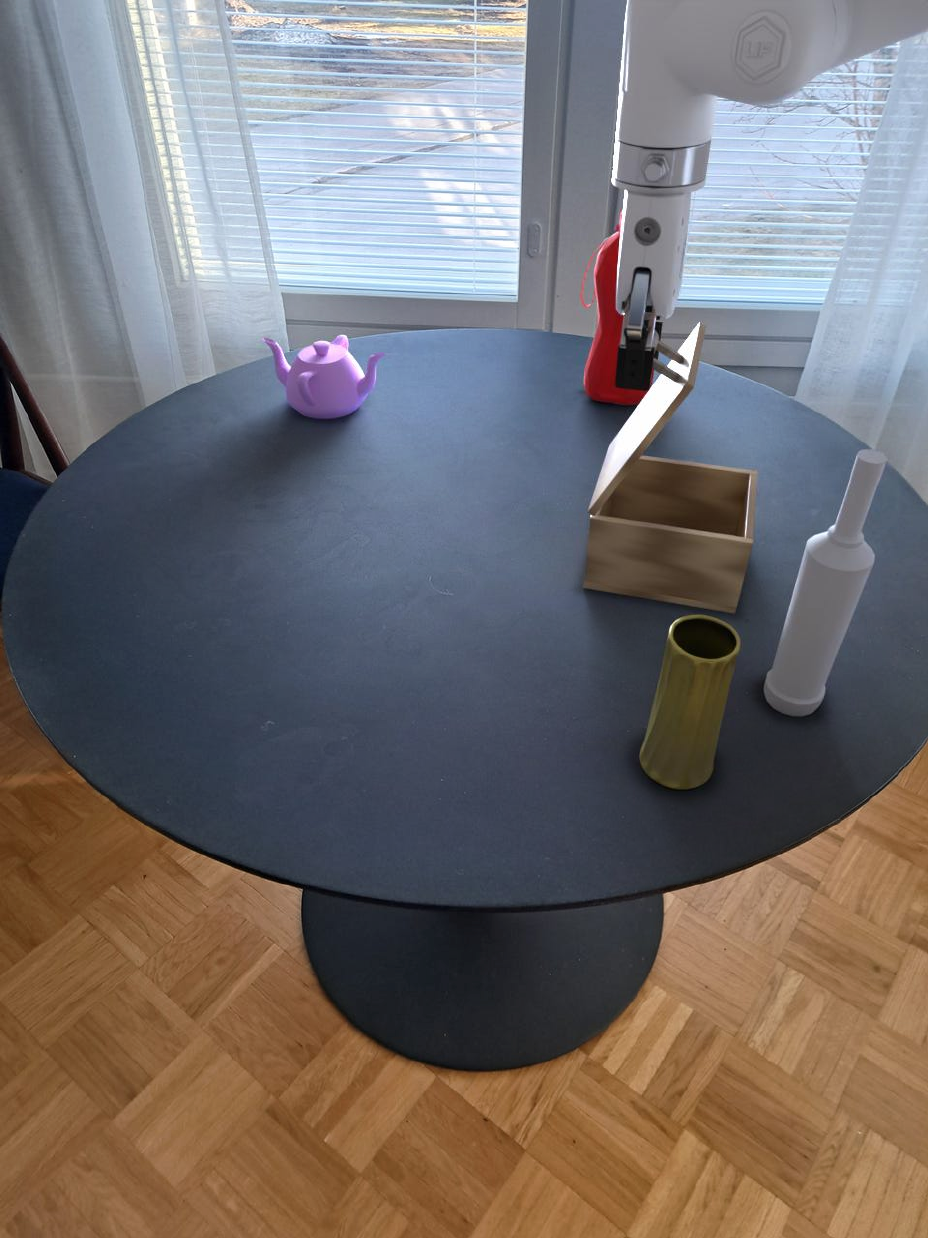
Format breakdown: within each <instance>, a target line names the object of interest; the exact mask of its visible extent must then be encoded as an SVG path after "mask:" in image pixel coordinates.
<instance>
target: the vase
mask: <svg viewBox="0 0 928 1238" xmlns="http://www.w3.org/2000/svg"><path fill="white" fill-rule="evenodd" d="M740 648H741V638H740V637H739V634H738V632H737V631H736V629H734V627H733V626H731V624H729V623H727V622H726V621H723V620H722V619H719V618H717V617H714V616H709V615H705V614H692V615H685V616H682V617H680V618H678V619H676V620H675V621H674V622H673V623H672V624H671V625H670V627H669V630H668V635H667V639H666V644H665V650H664V655H663V659H662V665H661V669H660V674H659V678H658V682H657V686H656V691H655V695H654V698H653V703H652V707H651V711H650V713H649V719H648V723H647V727H646V732H645V735H644V740H643V742H642V745H641V747H640V751H639V762H640V765H641V768H642V770H643V772H645V774H646V775H647V776H648V777H649V778H651V780H654V782H656V783H658V784H660V786H663V787H666V788H669V789H673V790H682V791H683V790H690V789H691V790H692V789H696V788H698V787H700V786H702V785H703V784H705V783H706V782H707V781H708V780H709V779H710V777H711V776H712V773H713V771H714V763H715V761H714V760H715V756H716V752H717V747H718V742H719V737H720V733H721V726H722V721H723V717H724V713H725V709H726V704H727V700H728V695H729V691H730V687H731V683H732V678H733V675H734V670H735V666H736V662H737V659H738V656H739V652H740Z"/></svg>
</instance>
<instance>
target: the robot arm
mask: <svg viewBox="0 0 928 1238" xmlns="http://www.w3.org/2000/svg"><path fill="white" fill-rule="evenodd" d="M626 2H627V3H626V9H625V17H624V18H625V19H624V30H623V31H624V33H623V42H622V43H623V45H622V54H621V55H622V57H621V59H622V60H621V67H620V82H619V93H618V94H619V95H618V108H617V119H616V131H615V143H614V155H613V167H612V168H613V170H612V178H611V183H612V185H613V186H614V187H615V188H618V189H620V190H622V191H624V198H623V208H622V210H623V217H622V227H621V238H620V249H619V261H618V274H617V291H616V310H617V311H618V312H619V313H620V314H621V315H623V313H624V318H623V326H622V333H621V341H620V344H619V346H618V355H617V366H616V376H615V386H616V387H617V388H622V389H631V390H641V391H647V390H649V388H650V385H651V377H652V369H653V361H654V358H655V359H657V360H658V361H659V357H660V356H659V355H660V352H659V351H657V350H656V351H655V347H652V343H653V336H654V330H655V331H657V333H658V335H659V341H661V340H662V331H663V324H664V322H663V321H661V320H662V316H663V319H665V320H667V319H669V318H670V317H671V316H673V314H674V311H675V309H676V305H677V302H678V299H679V296H680V291H681V287H682V279H683V272H684V270H683V269H684V263H685V254H686V253H685V252H686V246H687V239H688V233H689V231H688V230H689V224H690V216H691V215H690V214H691V206H692V205H691V204H692V193H693V192H696V191H699V190H701V189H703V188H704V187H705V185H706V181H707V179H706V178H707V174H708V173H707V172H708V166H709V158H710V153H711V152H710V150H711V145H712V138H713V132H714V124H715V117H716V112H717V111H716V110H717V105H718V98H722V99H724V100H728V101H732V102H737V103H741V104H746V105H752V106H769V105H770V106H771V105H774V104H778V103H781V102H783V101H785V100H788V99H789V98H791V97H793V96H794V95H796V94H797V93H798V92H800V91H801V90H802V89H803V88H804V87H806V86H808V84H809V83H810V82H812V81H813V80H814V79H815V78H816V77H818V76H819V75H821V74H822V75H823V74H824V73H826V72H828V71H831V70H833V69H835V68H837V67H840V66H843V65H845V64H847V63H850V62H853V61H854V60H857V59H859V58H862V57H865V56H867V55H870V54H871V53H872V54H873V53H874V52H877V51H879V50H882V49H884V48H887V47H889V46H891V45H894V44H897V43H900V42H902V41H906V40H908V39H911V38H913V37H915V36H919V35H921V34H924V33H927V32H928V0H627V1H626ZM647 329H648V330H647ZM654 353H655V354H654ZM651 386H652V385H651ZM650 389H651V388H650ZM649 391H650V390H649Z"/></svg>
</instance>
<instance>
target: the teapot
mask: <svg viewBox="0 0 928 1238" xmlns="http://www.w3.org/2000/svg"><path fill="white" fill-rule="evenodd" d="M262 340H263V341H264V342H265V343H266V345H267V346H268V347H269V348H270V350H271V353H272V356H273V362H274V370H275V375H276V377H277V379H278V381H279V382H280V384H281V385H282V386H283V387H284V388H285V398H286V401H287V403H288V404H289V405H290V406H291V407H292V408H293V409H294V410H295V411H297V412H298V413H299V414H301V415H302V416H304V417H307V418H312V419H319V420H321V419H322V420H326V419H327V420H329V419H330V420H331V419H337V418H342V417H345V416H348V415H350V414H352V413H354V412H355V411H357V410H358V409H359V408H360V407H361V405H362V404H363V403H364V401H365V400H366V399H367V396H368V395H369V394H370V393H371V392H373V389H374V387H375V385H376V380H377V365H378V362H379V361H380V359H381V358H382V357H384V356H386V354H387V353H386V352H377V353H374V354H372V355H370V356H369V358H368V360H367V364H366V372H365V374H364V371H363V370H362V368H361V367H360V365H359V363H358V362H357V360H356V359H355V358H354V357H353V355H352V354H351V353H350V352H349V340H348V337H347V335H345V334H340V335H338V336H337V337H336V338H335V339H334V340H333V341H332V343H330V342H329V341H326V340H319V341H315V342H313V344H312V345H309V346H306V347H304V348H302V349H301V350H299V352H298V353H297V354H296V356H295V358H294V359H293V362H292V364H291V366H290V365H289V364H288V362H287V360H286V358H285V355H284V352H283V349H282V347H281V346H280V345H279V343H278V342H276V341H275V340H273V339H272V338H269V337H262Z"/></svg>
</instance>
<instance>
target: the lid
mask: <svg viewBox="0 0 928 1238" xmlns="http://www.w3.org/2000/svg"><path fill="white" fill-rule="evenodd" d="M647 330H648V329H647ZM706 331H707V325H705V324H704V323H702V322H698V323H697V325H696V326H695V328H694V329H693V330H692V332H691V333H690V335H689V336H688V337H687V339H686V340H685V341H684V343H683V344H682V345H681V347H680V348H679V349H678V351H677V350H675V349H674V348H673V347H671V346H669V345H668V344H666V343H664V342H663V341H661V340H660V341H659V335H658V333H657V331H655V330H654V336H653V343H652V347H655V351H656V350H657V351H659V354H662V355H663V356H665V357H666V358H668V359H670V360H671V361H670V362H669V363H668V365H667V364H665V363H663V362H662V361H660V360H659V359H658V360H657V359H655V358H654V361H653V369H654V372H656V373H659V374H660V375H659V377H658V378H657V379H656V381H655V382H654V383H653V384H652V386H651V388H650V390H649V392H648V393H647V395H646V396H645V397H644V399H643V400H642V401H641V402H640V403H639V404H638V405H637V407H636V408H635V409H634V411H633V412H632V414H631V415H630V416H629V418H628V419H627V420H626V422H625V423H624V424H623V426H622V427H621V429H620V430H619V432H618V433H617V434H616V435H615V436H614V438H613V439H612V441H611V442H610V444H609V446H608V448H607V451H606V454H605V457H604V460H603V463H602V466H601V470H600V473H599V476H598V479H597V482H596V484H595V487H594V491H593V494H592V497H591V499H590V504H589V506H588V509H587V513H588V514H589V515H590V516H591V515H593V516H595V515H596V513H597V512H598V511H599V509H600V508H601V507H602V505H603V504H604V503H605V502H606V500H607V499H608V498H609V496H610V495H611V494H612V493H613V491H614V490H615V489H616V487H617V486H618V485H619V484H620V482H621V481H622V480H623V478H624V477H625V476H626V475H627V473H628V472H629V471H630V469H631V468H632V467H633V466H634V464H635V463H636V462H637V460H638V459H639V458H640V457H641V455H642V456H643V454H644V453H645V451H647V449H648V448H649V446H650V445H651V444H652V443H653V441H654V440H655V439H656V437H657V436H658V435H659V433H660V432H661V431H662V430H663V429H664V427H665V426H666V424H667V423H668V422H669V421H670V419H671V418H672V417H673V415H674V414H675V413H676V411H677V410H678V409H679V408H680V407H681V405H682V404H683V402H685V400H686V398H687V397H688V396H689V395H690V394H691V392H692V391H693V390H694V389H695V386H696V382H697V381H696V380H697V375H698V370H699V366H700V360H701V355H702V350H703V345H704V340H705V335H706ZM654 354H655V353H654Z"/></svg>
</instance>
